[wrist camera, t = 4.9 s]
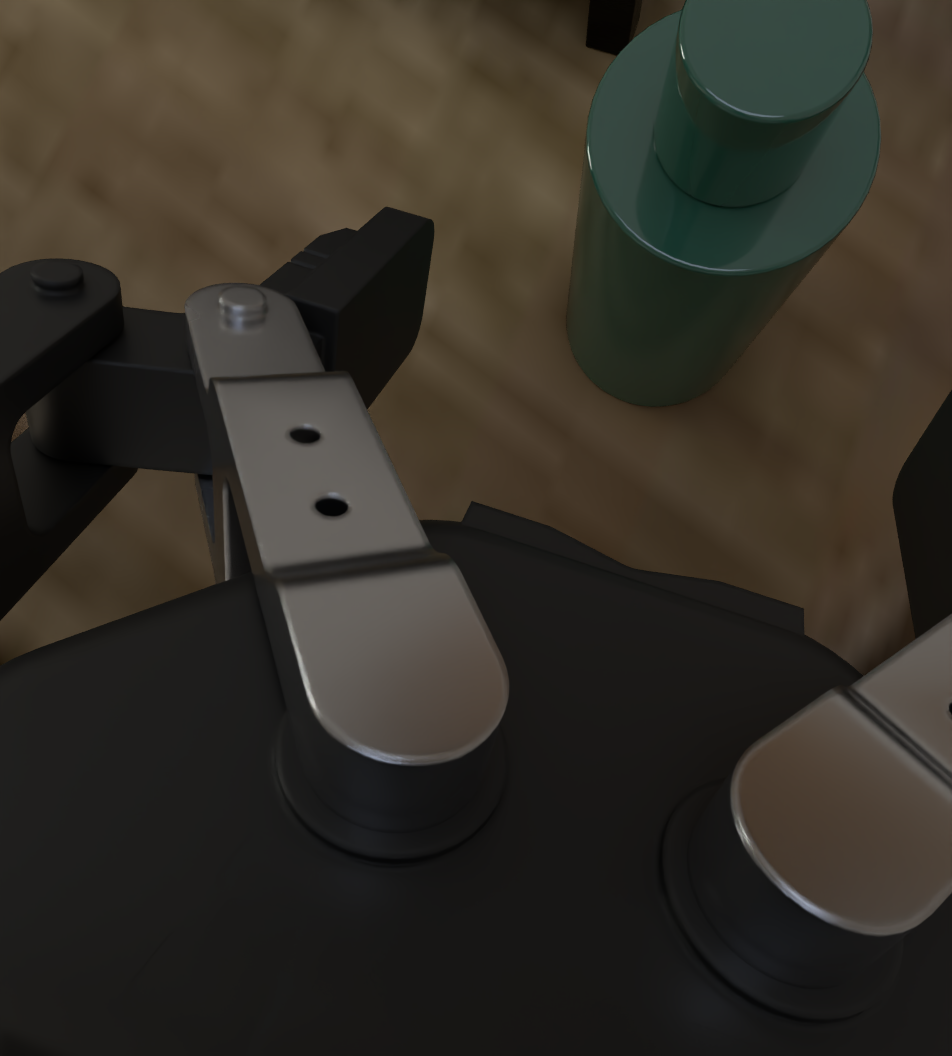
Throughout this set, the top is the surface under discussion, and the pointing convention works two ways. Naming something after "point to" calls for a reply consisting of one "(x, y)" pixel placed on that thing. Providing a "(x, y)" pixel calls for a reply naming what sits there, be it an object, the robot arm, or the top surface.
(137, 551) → the top surface
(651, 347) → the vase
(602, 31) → the black rectangular case
